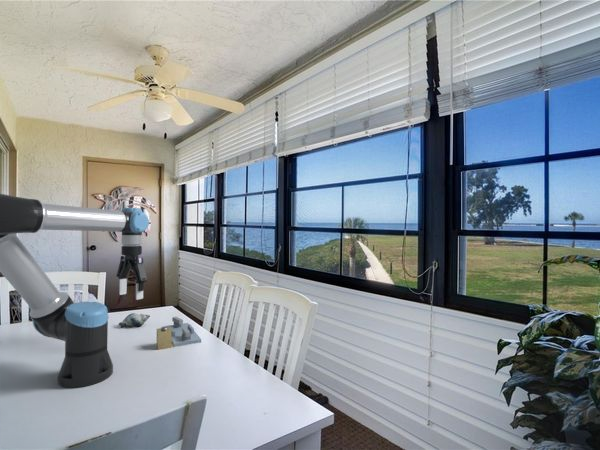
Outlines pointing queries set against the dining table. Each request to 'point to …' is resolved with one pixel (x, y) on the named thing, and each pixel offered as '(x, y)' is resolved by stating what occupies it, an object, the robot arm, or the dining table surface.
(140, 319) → the seashell
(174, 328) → the shaft bench
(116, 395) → the dining table surface
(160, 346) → the block
